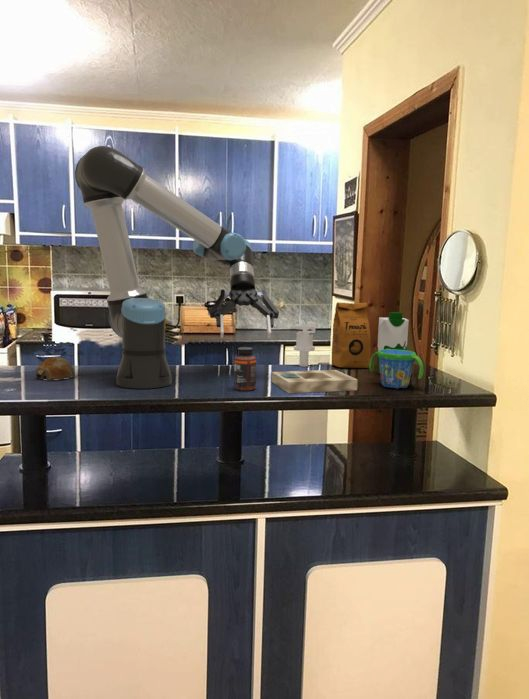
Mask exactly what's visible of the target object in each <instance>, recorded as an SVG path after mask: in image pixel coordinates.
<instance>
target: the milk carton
mask: <svg viewBox="0 0 529 699" xmlns="http://www.w3.org/2000/svg"><path fill="white" fill-rule="evenodd" d="M409 321H410V320H409V319H408V318H404V317H403V312H401V311H399V312H398V311H389V313H388V317H379V318H378V329H377V330H378V332H377V350H376V352H378V351H379V350H382V349H398V350H407V351H408V338H409V337H408V335H409ZM376 367H377V370H376V373H377V374H379V375H380V362H379V357H378V354H377V355H376Z"/></svg>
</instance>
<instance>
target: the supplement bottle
mask: <svg viewBox="0 0 529 699" xmlns="http://www.w3.org/2000/svg"><path fill="white" fill-rule="evenodd" d="M253 349H254V348H253V347H248V346H241V347H238V348H237V354H236V355H235V356H234V361H233V362H234V363H233V364H234V366H233V368H234V369H233V370H234V372H233V374H234V375H233V376H234V380H233V382H234V383H233V384H234V386H233V387H234V389H235V390H237V391H241V392H243V391H244V392H246V391H247V392H249V391H253V390H255V389H256V387H257V358H256V356H255V355H254V354H253V351H254V350H253Z"/></svg>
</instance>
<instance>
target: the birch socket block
mask: <svg viewBox="0 0 529 699" xmlns="http://www.w3.org/2000/svg"><path fill="white" fill-rule="evenodd" d="M271 383H273V384H274V385H275V386H277V387H278V388H280V389H281V390H283V391H285V392H286V393H287V394H304V393H324V392H327V393H328V392H329V393H330V392H349V391H358V379H357V378H355V377H352V376H350V375H349V374H346V373H344V372H341V371H339V370H336V369H323V370H321V369H320V370H290V371H287V370H286V371H272V372H271Z"/></svg>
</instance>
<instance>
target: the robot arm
mask: <svg viewBox="0 0 529 699" xmlns="http://www.w3.org/2000/svg"><path fill="white" fill-rule="evenodd" d="M74 179H75V182H76V184H77V187H78V188H79V190H80V192H81V196H82V200H83V204H84V206H86V207H87V208H88V209H89V210H91V215H92V219H93V223H94V227H95V232H96V236H97V240H98V244H99V248H100V253H101V257H102V261H103V265H104V269H105V274H106V278H107V283H108V287H109V291H110V292H109V295H108V297H107V298H106V301H107V302H106V303H107V306H108V310H109V313H108V322H109V323H108V324H109V326H110V328H111V330H112V331H113V332H114V333H115V334H116V335H117V337H119V338H122V345H121V346H122V357H121V360H120V364H119V366H118V370H117V374H116V377H115V378H116V381H115V382H116V384H115V385H117V386H119V387H121V388H126V389H127V388H128V389H138V390H139V389H141V390H142V389H146V390H147V389H157V388H158V389H159V388H162V387H163V388H164V387H167V386H170V385H171V384H172V380H173V379H172V372H171V370H170V366H169V364H168V360H167V357H166V316H167V313H166V307H165V304H164V302H162V301H160V300H158V299H155V298H154V299H152V298H148V294H147V291H146V290H145V289H143V288H142V287H141V285H140V282H139V278H138V276H139V275H138V274H137V268H136V264H135V259H134V255H133V250H132V245H131V240H130V237H129V232H128V227H127V222H126V218H125V213H124V209H123V204H124V201H126V200H132V201H134V202H135V203H137V204H138V205H139V206H141V207H143V208H145V209H146V210H147V211H149V212H151V213H152V214H154V215H155V216H157V217H158V218H160V219H162V220H163V221H164V222H166V223H168V224H169V225H171V226H172V227H174V228H175V229H177V230H179V231H180V232H181V233H183V234H185V235H187V237H189V238H191V239H193V240H194V241H193V242H192V243H193V244H192V250H193V253H194V254H195V255H197V256H199V257H202V258H205V259H208V260H211V261H214V262H216V263H219V264H221V265H225V266H227V267H229V280H230V282H229V283H230V285H229V286H230V287H229V288H230V291H226V290H225V289H220V295H219V296H218V298H217V299H216V301H215V303H214V304H213V306H212V307H211V308H210V311H209V317H210V318H211V319H213V318H214V319H215V321H216V322H215V323H216V327H217V328H220V329H219V331H220V339H223V338H224V334H225V331H224V316H225V315H226V314H227V313H228V312H229V311H230V310H231V309H232V308H235V306H245V307H246V306H247V307H249V306H251V307H252V308H254V309H256V310H257V311H258V312H259V313H260V314H261V315H263V316H264V317H265V318H266V319H265V323H266V324H265V325H266V334H267V339H271V336H272V329H274V326H275V322H274V319H276V320H277V319H279V313H280V311H279V309H278V308H277V307H276V305H275V304H274V303H273V302H272V300H271V299H270V297H269V296H268V295H267V290H265V289H262V290H261V292H260V291H259V292H258V291H257V290H256V284H255V283H256V281H255V270H254V258H253V257H254V254H253V252H254V251H253V249H252V245H251V243H250V242H249V241H248V240H247V239H245V238H244V237H243V236H242V235H241V234H239V233H236V232H230V231H229V230H227V228H224V227H223V226H222V225H220V224H219V223H217V222H215V221H214V220H213V219H212V218H210V217H208V216H207V215H206V214H204V213H203V212H201V211H200V210H198V209H197V208H195V207H194V206H192V205H191V204H189V203H188V202H187V201H185V200H183V199H182V198H181V197H179V196H178V195H176V194H175V193H173V192H172V191H171V190H169V189H167V188H166V187H164V186H163V185H162V184H160V183H159V182H158V181H156V180H155V179H153V178H152V177H150V176H149V175H147V174H146V170H145V168H143V167H142V166H141V165H139V164H138V163H136V162H135V161H134V160H132V159H131V158H129V157H128V156H126V155H125V154H123V153H122V152H120V151H119V150H117V149H116V148H114V147H111V146H108V145H98V146H95V147H92V148H91V149H89V150H88V151H86V153H85V154H84V155H82V156H81V158H80V159H79V160H78V161H77V163H76V165H75V169H74ZM228 297H229V298H230V299H229V300H228V301H227V302H226V303H225V304H224V305H223V303H224V302H225V300H227V298H228ZM258 298H259V299H258ZM261 301H262V302H261ZM222 305H223V306H222Z"/></svg>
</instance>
